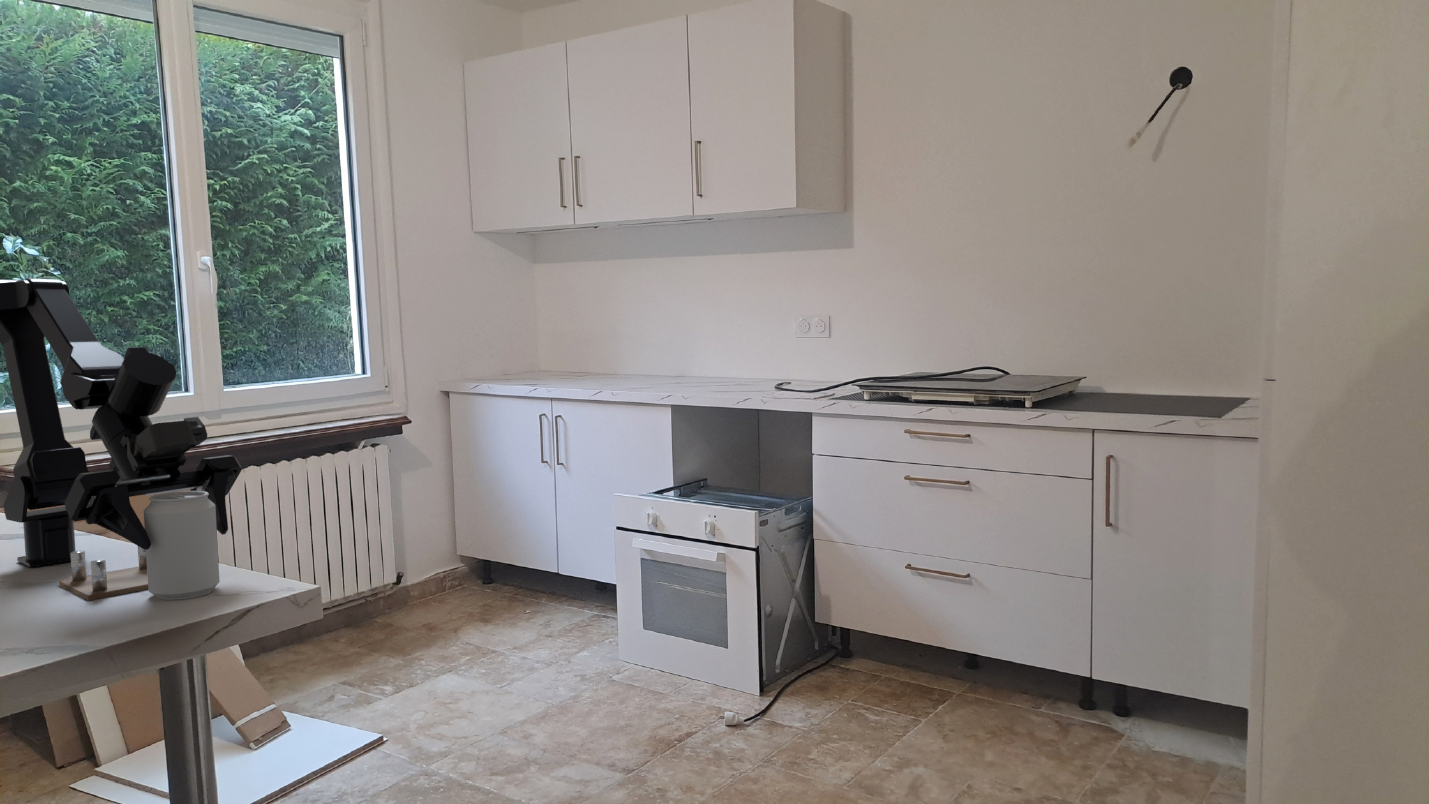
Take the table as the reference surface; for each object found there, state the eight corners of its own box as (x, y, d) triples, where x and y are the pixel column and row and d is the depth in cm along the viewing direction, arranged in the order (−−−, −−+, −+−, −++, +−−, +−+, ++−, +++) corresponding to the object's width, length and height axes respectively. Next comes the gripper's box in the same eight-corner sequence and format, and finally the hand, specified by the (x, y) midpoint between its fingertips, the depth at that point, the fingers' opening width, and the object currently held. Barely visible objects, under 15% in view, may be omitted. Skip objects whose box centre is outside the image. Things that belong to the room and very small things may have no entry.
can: (189, 603, 112) (183, 499, 111) (133, 600, 113) (126, 498, 112) (233, 586, 119) (228, 488, 118) (180, 583, 121) (175, 487, 120)
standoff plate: (59, 585, 121) (56, 552, 120) (155, 568, 129) (153, 537, 129) (88, 600, 113) (86, 565, 113) (188, 581, 122) (186, 548, 121)
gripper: (70, 402, 109) (128, 509, 104) (229, 392, 124) (286, 483, 119) (41, 468, 113) (95, 572, 108) (198, 450, 129) (251, 540, 124)
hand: (188, 539), depth 115 cm, fingers open, 9 cm apart
